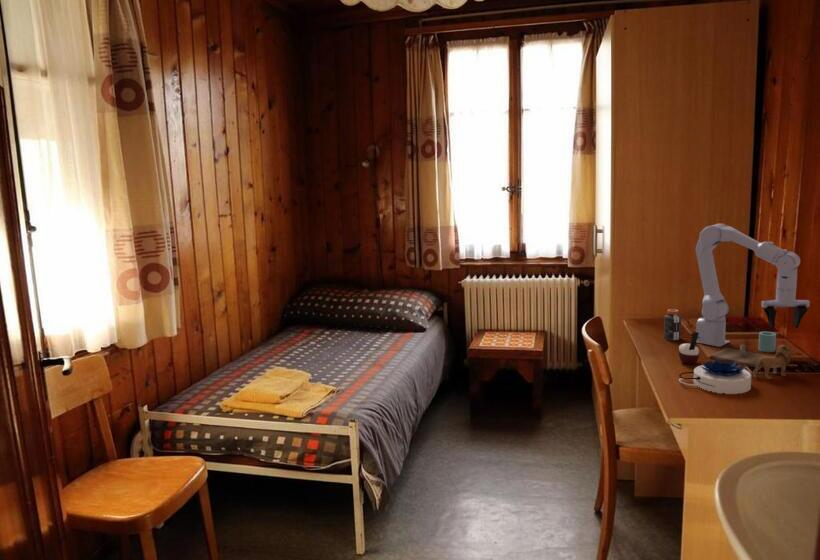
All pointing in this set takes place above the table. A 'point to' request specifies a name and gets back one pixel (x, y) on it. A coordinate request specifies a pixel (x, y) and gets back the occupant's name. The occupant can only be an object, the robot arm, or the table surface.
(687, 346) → the cocoa
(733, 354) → the roll stand
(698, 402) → the table surface
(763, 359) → the lion figurine
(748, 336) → the table surface
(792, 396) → the table surface
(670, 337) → the pill bottle
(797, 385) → the table surface
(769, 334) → the grey-green cylinder
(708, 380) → the white round gift box
